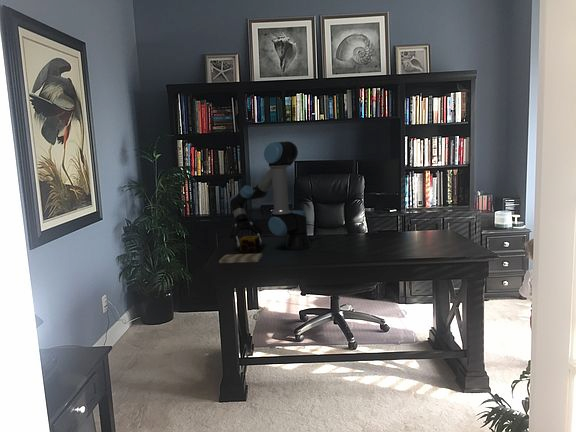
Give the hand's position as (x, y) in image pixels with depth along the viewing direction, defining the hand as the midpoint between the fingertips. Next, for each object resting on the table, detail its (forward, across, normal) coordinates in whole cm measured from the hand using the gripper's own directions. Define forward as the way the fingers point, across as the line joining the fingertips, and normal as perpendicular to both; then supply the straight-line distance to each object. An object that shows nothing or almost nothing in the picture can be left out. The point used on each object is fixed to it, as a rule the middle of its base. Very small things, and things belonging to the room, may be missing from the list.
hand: (250, 244), depth 297 cm
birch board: (+12, +9, +5) cm, 16 cm away
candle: (+4, 0, -4) cm, 6 cm away
